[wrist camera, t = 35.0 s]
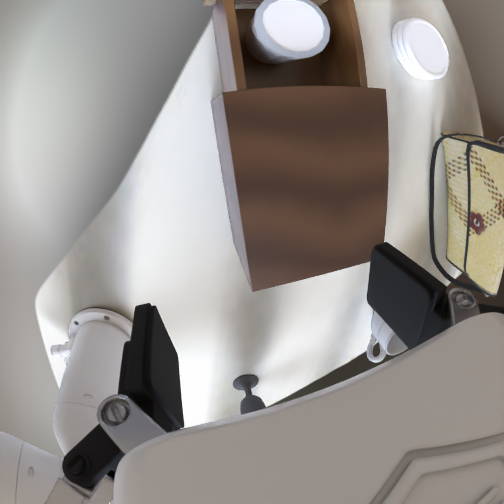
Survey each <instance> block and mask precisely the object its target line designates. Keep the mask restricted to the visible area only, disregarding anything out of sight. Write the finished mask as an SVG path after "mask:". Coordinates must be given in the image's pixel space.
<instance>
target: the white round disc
mask: <svg viewBox="0 0 504 504" xmlns="http://www.w3.org/2000/svg"><path fill="white" fill-rule="evenodd" d="M392 45H393V49H394V52H395V54H396V56H397V58H398V60H399V62H400V63H401V65H402V66H403V67H404V69H405V70H406V71H407V72H408V73H410V74H411V75H412V76H414V77H416V78H419V79H433V80H436V79H440V78H442V77H443V76H444V75H445V74H446V72H447V70H448V67H449V53H448V49H447V46H446V43H445V41H444V39H443V37H442V35H441V34H440V32H439V31H438V30H437V29H436V28H435V27H434V26H433V25H432V24H431V23H430V22H428V21H427V20H425V19H423V18H419V17H412V18H409V19H405V20H401V21H399V22H397V23H396V24H395V26H394V27H393V30H392Z"/></svg>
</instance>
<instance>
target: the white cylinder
mask: <svg viewBox="0 0 504 504" xmlns="http://www.w3.org/2000/svg"><path fill="white" fill-rule="evenodd" d="M329 36H330V27H329V24H328V20H327V17H326V16H325V14H324V13H323V12H322V11H321V9H320V8H319V7H318V6H317V5H316V4H314V3H313V2H311V1H309V0H264V1H263V2H262V3H261V4H260V6H259V7H258V8H257V9H256V12H255V14H254V16H253V19H252V21H251V23H250V26H249V28H248V31H247V33H246V39H245V43H246V46H247V49H248V51H249V52H250V53H251V55H252V56H253V57H254V58H255V59H257V60H259V61H261V62H262V63H267V64H272V65H274V64H280V63H285V62H290V61H294V60H299V59H304V58H309V57H312V56H314V55H316V54H317V53H319V52H321V51H323V49H324V48H325V46H326V45H327V43H328V42H329Z"/></svg>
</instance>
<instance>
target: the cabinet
mask: <svg viewBox="0 0 504 504" xmlns="http://www.w3.org/2000/svg"><path fill="white" fill-rule="evenodd" d="M211 106H212V113H213V119H214V126H215V132H216V138H217V145H218V151H219V157H220V163H221V170H222V176H223V182H224V188H225V194H226V200H227V206H228V212H229V218H230V223H231V229H232V235H233V241H234V245H235V248H236V250H237V253H238V256H239V258H240V261H241V263H242V266H243V269H244V271H245V274H246V277H247V279H248V282H249V284H250V287H251V290H252V292H254V291H258V290H262V289H267V288H271V287H275V286H279V285H283V284H287V283H291V282H295V281H299V280H303V279H307V278H310V277H314V276H318V275H322V274H326V273H330V272H333V271H337V270H341V269H344V268H348V267H352V266H355V265H359V264H362V263H366V262H369V261H371V251H372V250H373V249H374V246H375V245H377V244H381V243H384V237H385V226H386V213H387V197H388V164H389V148H388V116H387V100H386V89H380V88H368V87H353V86H284V87H268V88H256V89H246V90H237V91H229V92H223V93H221V94H220V95H219V96H217V97H216V98H215V99H214V100H212V101H211Z"/></svg>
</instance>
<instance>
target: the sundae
mask: <svg viewBox="0 0 504 504" xmlns="http://www.w3.org/2000/svg"><path fill="white" fill-rule="evenodd" d="M257 384H258V378H257V377H256V376H253V375H245V376H241V377H239V378H237V379H236V380H235V381H234V383H233V386H234V388H236V389H238V390H244V391H245V393H246V397H245V398H244V399H243V400H242V402H241V409H240V410H241V415H243V414H247V413H250V412H254V411H258V410H261V409H265V408H266V406H265V404H264V403H263V401H262V399H261V398H260V397H258V396H255V395H252V392H251V388H253V387H255V386H256V385H257Z"/></svg>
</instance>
